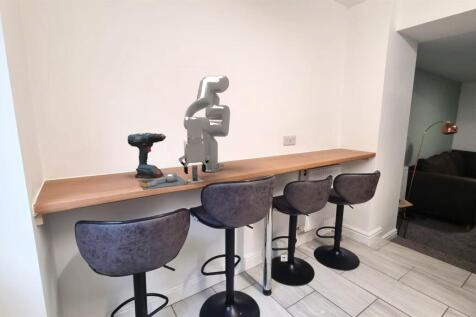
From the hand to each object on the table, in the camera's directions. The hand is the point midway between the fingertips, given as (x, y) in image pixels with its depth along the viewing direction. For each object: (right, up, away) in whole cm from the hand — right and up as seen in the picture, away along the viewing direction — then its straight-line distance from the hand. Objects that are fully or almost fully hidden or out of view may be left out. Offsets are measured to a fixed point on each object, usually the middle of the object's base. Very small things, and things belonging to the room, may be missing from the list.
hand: (195, 172), depth 128 cm
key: (0, -4, +1) cm, 4 cm away
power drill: (-27, -3, +9) cm, 29 cm away
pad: (0, -4, +1) cm, 4 cm away
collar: (-17, -5, -5) cm, 18 cm away
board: (-17, -5, -2) cm, 18 cm away
